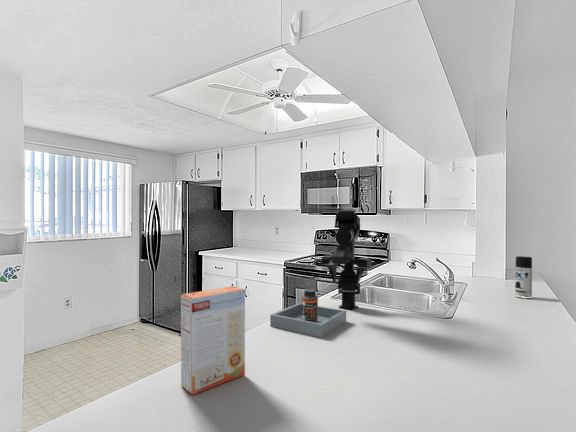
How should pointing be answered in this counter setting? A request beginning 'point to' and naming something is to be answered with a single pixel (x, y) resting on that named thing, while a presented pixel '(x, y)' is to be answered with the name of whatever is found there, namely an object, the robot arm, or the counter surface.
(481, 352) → the counter surface
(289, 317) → the gray square tray
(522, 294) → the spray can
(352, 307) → the robot arm
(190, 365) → the cracker box
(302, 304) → the supplement bottle
